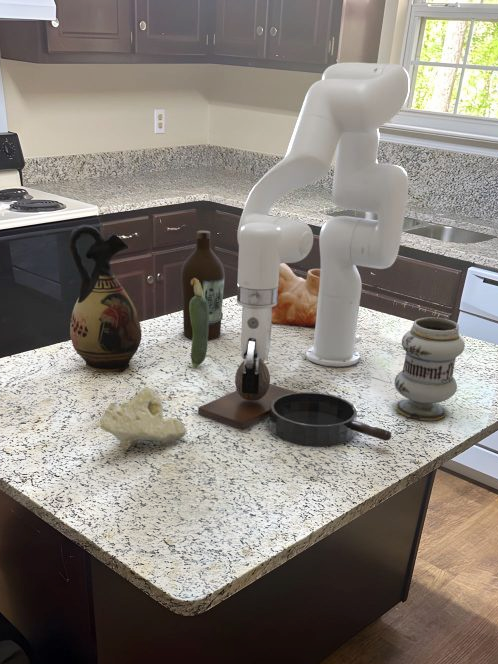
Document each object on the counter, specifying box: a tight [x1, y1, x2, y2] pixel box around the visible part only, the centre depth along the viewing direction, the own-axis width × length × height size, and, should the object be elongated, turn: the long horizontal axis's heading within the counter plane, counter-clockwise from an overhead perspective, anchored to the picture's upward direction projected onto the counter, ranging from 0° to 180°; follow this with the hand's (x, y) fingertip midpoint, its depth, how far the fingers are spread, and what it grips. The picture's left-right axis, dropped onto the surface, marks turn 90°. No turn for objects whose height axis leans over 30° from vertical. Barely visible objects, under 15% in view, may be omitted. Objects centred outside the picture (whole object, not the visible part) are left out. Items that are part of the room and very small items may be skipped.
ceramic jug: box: [67, 224, 143, 374], centre depth 154 cm, size 17×15×30 cm
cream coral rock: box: [99, 386, 187, 451], centre depth 128 cm, size 15×7×15 cm
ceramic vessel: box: [271, 263, 321, 329], centre depth 194 cm, size 14×26×15 cm, turn 75°
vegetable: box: [189, 278, 209, 368], centre depth 158 cm, size 4×4×20 cm
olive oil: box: [180, 230, 226, 341], centre depth 178 cm, size 11×11×25 cm
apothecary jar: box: [394, 316, 466, 421], centre depth 141 cm, size 12×12×18 cm
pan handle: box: [349, 420, 392, 442], centre depth 129 cm, size 2×8×2 cm, turn 51°
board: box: [197, 383, 297, 431], centre depth 144 cm, size 20×11×2 cm, turn 141°
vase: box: [234, 355, 271, 401], centre depth 141 cm, size 7×7×9 cm
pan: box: [268, 391, 358, 447], centre depth 136 cm, size 16×16×4 cm
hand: (252, 385), depth 142 cm, fingers closed on vase, 7 cm apart
